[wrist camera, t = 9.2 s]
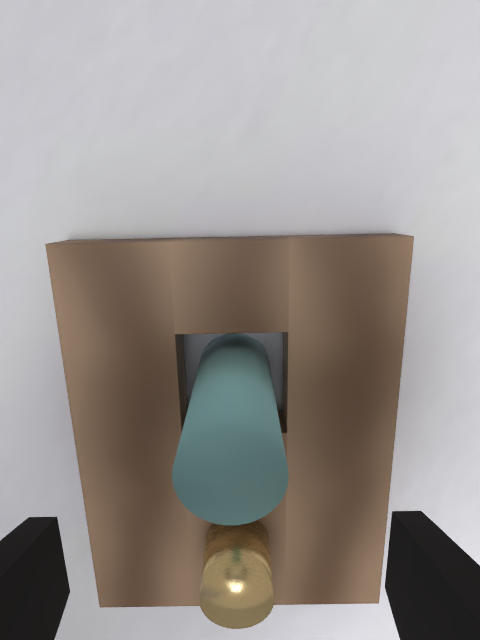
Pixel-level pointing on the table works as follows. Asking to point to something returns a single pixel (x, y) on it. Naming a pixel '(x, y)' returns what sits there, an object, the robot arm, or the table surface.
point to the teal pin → (231, 437)
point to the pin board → (295, 418)
